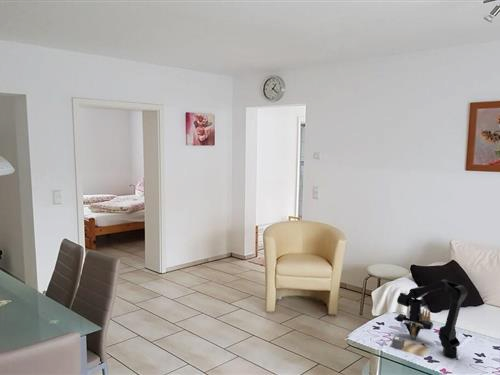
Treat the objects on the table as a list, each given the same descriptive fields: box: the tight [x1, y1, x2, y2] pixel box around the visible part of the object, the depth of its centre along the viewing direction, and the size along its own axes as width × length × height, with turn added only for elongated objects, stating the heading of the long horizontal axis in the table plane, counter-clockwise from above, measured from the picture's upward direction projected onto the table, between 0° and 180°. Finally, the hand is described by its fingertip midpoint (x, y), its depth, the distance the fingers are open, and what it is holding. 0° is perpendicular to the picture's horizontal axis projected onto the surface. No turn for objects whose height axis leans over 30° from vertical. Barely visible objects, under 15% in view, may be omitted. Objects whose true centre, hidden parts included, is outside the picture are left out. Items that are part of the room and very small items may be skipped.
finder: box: [391, 335, 405, 351], centre depth 226 cm, size 5×5×5 cm
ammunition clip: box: [411, 309, 431, 330], centre depth 254 cm, size 11×2×12 cm, turn 84°
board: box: [388, 339, 431, 358], centre depth 226 cm, size 18×14×1 cm
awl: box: [410, 324, 417, 340], centre depth 235 cm, size 3×3×7 cm
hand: (413, 335), depth 235 cm, fingers closed on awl, 3 cm apart
